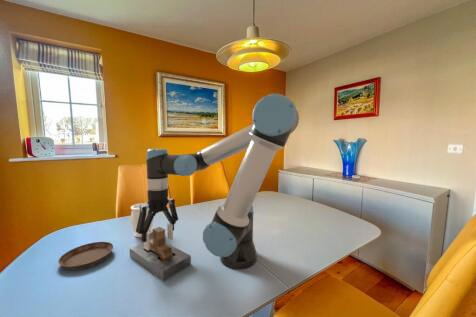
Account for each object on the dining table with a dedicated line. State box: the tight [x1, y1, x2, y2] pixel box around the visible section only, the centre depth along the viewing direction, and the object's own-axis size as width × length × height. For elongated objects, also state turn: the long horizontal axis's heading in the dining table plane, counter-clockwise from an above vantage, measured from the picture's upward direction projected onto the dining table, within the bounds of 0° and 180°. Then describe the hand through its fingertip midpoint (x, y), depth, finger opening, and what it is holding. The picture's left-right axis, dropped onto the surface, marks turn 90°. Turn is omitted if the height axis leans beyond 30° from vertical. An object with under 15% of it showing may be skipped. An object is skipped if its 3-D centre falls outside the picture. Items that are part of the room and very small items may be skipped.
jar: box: [130, 202, 155, 238], centre depth 103 cm, size 11×10×15 cm
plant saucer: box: [57, 241, 114, 271], centre depth 81 cm, size 18×18×3 cm
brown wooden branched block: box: [146, 226, 173, 262], centre depth 80 cm, size 12×4×13 cm, turn 53°
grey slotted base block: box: [129, 241, 192, 282], centre depth 80 cm, size 24×12×4 cm, turn 53°
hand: (159, 243), depth 80 cm, fingers open, 9 cm apart
